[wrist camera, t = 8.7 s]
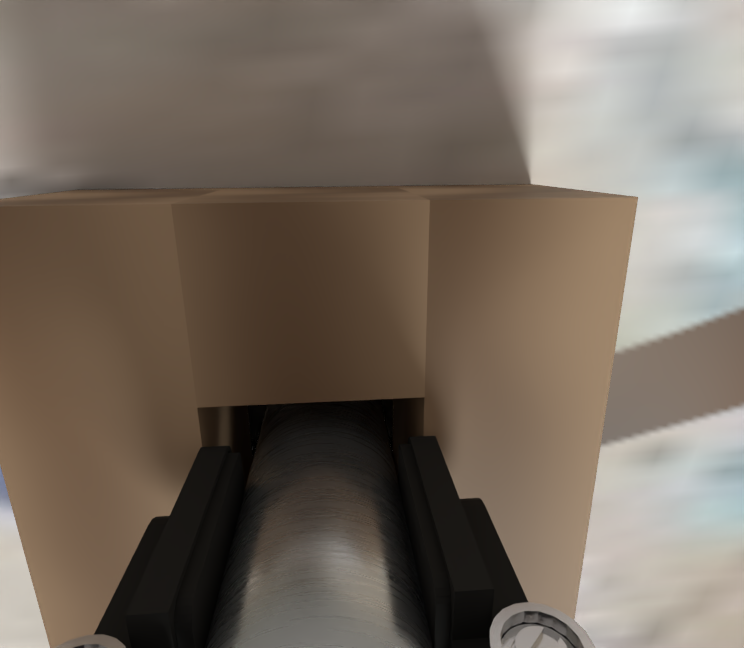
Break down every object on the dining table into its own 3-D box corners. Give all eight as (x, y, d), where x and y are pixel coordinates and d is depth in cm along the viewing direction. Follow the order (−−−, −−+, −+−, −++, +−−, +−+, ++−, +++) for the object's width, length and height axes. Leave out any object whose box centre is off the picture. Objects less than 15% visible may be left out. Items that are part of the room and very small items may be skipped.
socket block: (531, 184, 14) (637, 196, 9) (500, 541, 18) (564, 682, 13) (75, 189, 13) (-70, 207, 8) (144, 566, 17) (72, 727, 12)
